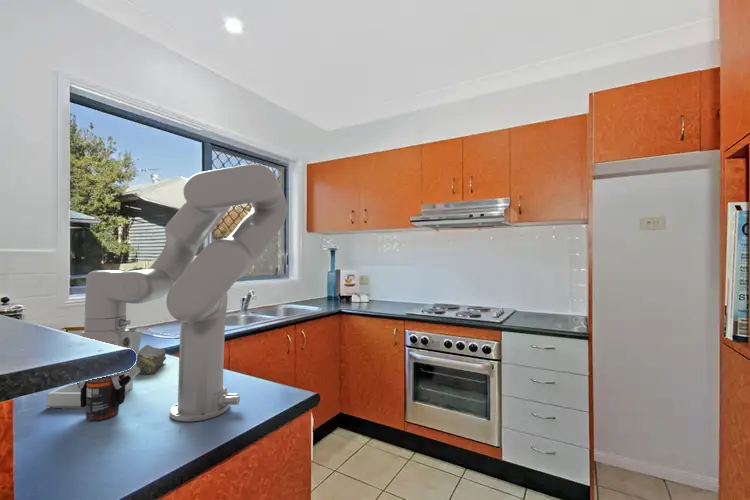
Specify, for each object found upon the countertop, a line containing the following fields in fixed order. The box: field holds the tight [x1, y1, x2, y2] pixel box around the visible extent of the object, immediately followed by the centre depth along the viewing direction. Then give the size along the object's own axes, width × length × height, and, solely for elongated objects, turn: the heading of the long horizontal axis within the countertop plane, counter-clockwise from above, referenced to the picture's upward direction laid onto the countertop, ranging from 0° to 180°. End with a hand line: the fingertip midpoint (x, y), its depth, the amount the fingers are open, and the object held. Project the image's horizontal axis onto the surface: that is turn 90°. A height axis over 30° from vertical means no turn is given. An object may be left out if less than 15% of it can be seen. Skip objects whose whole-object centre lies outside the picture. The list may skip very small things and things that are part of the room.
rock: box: [136, 344, 167, 375], centre depth 115 cm, size 17×7×10 cm
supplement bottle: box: [85, 377, 120, 421], centre depth 81 cm, size 6×6×11 cm
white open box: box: [45, 331, 143, 410], centre depth 93 cm, size 11×17×15 cm
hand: (102, 404), depth 81 cm, fingers closed on supplement bottle, 6 cm apart
